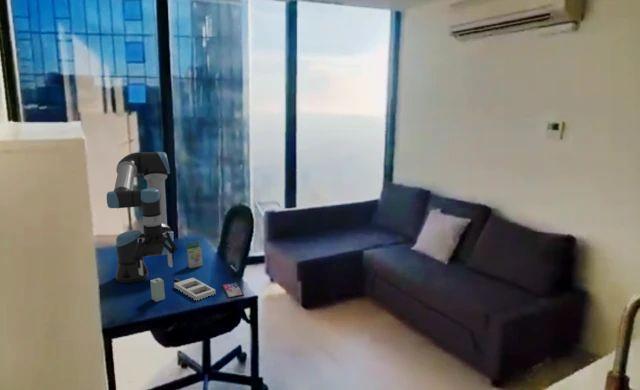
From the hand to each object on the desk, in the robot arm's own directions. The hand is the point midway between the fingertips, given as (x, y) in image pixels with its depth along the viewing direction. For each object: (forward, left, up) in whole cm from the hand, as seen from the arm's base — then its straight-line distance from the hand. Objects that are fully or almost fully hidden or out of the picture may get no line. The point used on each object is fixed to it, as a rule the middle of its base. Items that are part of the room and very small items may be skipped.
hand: (156, 270), depth 200 cm
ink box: (-23, +32, -14) cm, 42 cm away
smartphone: (+16, +29, -14) cm, 36 cm away
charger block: (0, 0, -14) cm, 14 cm away
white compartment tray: (0, +16, -14) cm, 21 cm away
